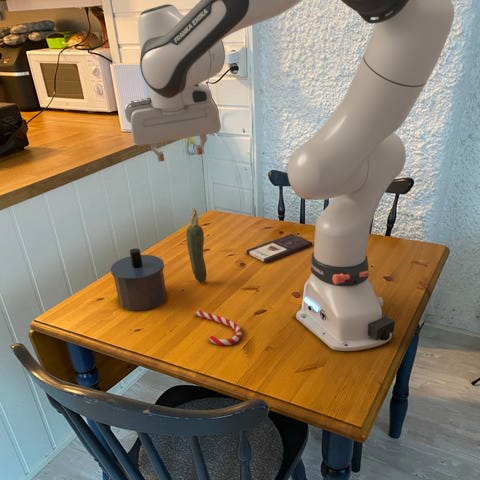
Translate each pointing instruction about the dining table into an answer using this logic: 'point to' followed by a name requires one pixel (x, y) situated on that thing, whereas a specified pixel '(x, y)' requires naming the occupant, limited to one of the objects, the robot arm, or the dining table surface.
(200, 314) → the candy cane
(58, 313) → the dining table surface
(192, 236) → the vegetable
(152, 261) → the lid
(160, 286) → the dark grey pot
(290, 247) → the chocolate bar
